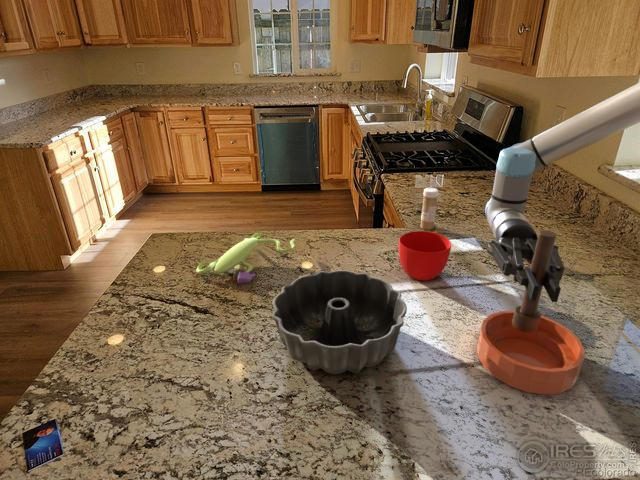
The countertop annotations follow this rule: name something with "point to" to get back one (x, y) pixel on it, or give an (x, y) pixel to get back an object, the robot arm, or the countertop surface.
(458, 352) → the countertop surface
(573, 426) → the countertop surface
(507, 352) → the bowl
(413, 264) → the ceramic cup
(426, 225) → the sprinkles bottle
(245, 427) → the countertop surface
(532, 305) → the wooden pestle
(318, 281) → the bundt pan
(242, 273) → the figurine
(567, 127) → the robot arm
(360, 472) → the countertop surface
